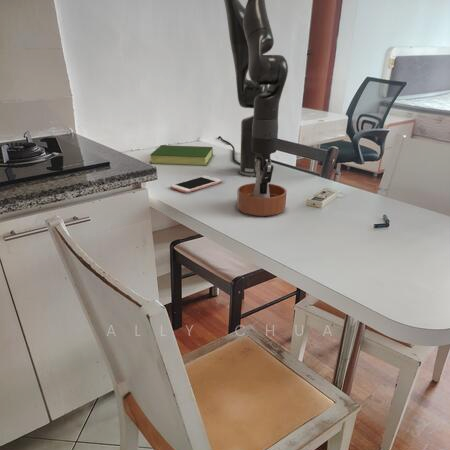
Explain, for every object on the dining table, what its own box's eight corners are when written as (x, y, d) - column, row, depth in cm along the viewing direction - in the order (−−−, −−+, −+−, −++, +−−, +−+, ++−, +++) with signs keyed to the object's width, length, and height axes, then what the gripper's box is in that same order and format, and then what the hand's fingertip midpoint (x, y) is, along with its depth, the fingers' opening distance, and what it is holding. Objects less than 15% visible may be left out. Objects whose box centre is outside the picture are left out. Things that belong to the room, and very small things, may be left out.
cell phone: (221, 182, 155) (221, 179, 154) (186, 193, 144) (186, 190, 143) (205, 177, 160) (205, 175, 159) (170, 188, 149) (169, 185, 148)
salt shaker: (257, 211, 128) (259, 168, 121) (248, 205, 132) (249, 164, 125) (273, 208, 130) (276, 166, 123) (263, 202, 134) (266, 162, 127)
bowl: (232, 202, 136) (233, 184, 133) (276, 199, 139) (278, 181, 136) (243, 219, 124) (243, 199, 121) (291, 215, 126) (293, 196, 123)
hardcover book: (212, 155, 191) (212, 146, 189) (205, 165, 175) (205, 156, 173) (160, 153, 194) (159, 145, 192) (149, 163, 178) (148, 154, 176)
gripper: (246, 130, 125) (244, 186, 134) (258, 140, 113) (255, 201, 122) (270, 129, 126) (266, 185, 135) (284, 139, 114) (279, 199, 124)
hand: (261, 192), depth 129 cm, fingers open, 3 cm apart
